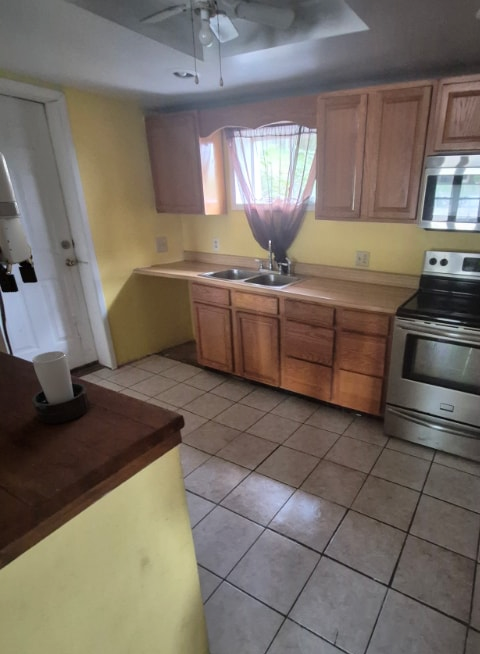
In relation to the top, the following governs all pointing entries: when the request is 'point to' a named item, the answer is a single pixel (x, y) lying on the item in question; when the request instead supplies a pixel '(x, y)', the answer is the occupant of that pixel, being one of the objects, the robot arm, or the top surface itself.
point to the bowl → (62, 406)
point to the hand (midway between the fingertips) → (21, 287)
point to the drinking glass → (54, 376)
